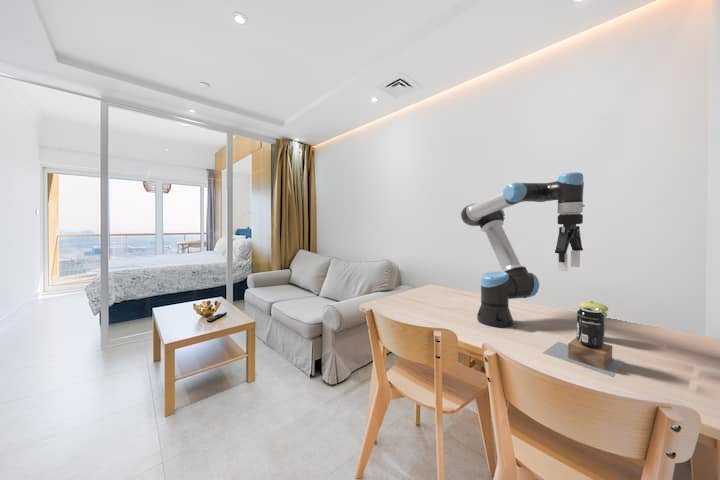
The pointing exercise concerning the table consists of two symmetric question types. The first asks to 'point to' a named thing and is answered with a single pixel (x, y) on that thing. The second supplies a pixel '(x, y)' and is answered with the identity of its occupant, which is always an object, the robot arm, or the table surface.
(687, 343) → the table surface
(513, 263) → the robot arm
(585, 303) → the toy
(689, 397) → the table surface
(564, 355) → the plate
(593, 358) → the walnut block
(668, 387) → the table surface
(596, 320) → the beverage can
